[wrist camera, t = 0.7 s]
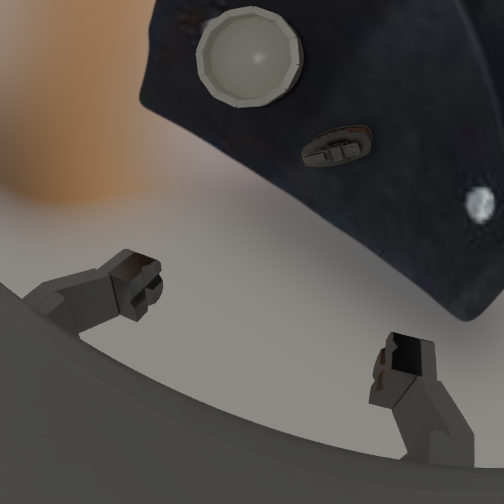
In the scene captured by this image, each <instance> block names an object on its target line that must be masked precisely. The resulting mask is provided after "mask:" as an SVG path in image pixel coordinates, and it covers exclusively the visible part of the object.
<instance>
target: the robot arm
mask: <svg viewBox="0 0 504 504" xmlns="http://www.w3.org/2000/svg"><path fill="white" fill-rule="evenodd" d="M160 272H161V263H160V262H159V261H158V260H156V259H153V258H150V257H148V256H145V255H142V254H139V253H136V252H134V251H131V250H129V249H123V250H122V251H121V252H119V253H118V254H117V255H115V256H114V257H113V258H112V259H110V260H109V261H108V262H106V263H105V264H104V265H103V266H101V267H100V268H99V269H91V270H87V271H83V272H80V273H76V274H72V275H68V276H65V277H61V278H57V279H54V280H50V281H47V282H43V283H42V284H40V285H39V286H37V287H36V288H35V289H34V290H32V291H31V292H30V293H29V294H28V295H26V296H25V297H24V298H23V299H21V298H20V297H18V296H17V295H16V294H14V293H13V292H12V291H10V290H9V289H8V288H7V287H5V286H4V285H3V284H2V283H0V504H504V468H474V434H473V432H472V430H471V429H470V427H469V425H468V423H467V422H466V420H465V418H464V417H463V415H462V414H461V412H460V410H459V409H458V407H457V406H456V404H455V403H454V401H453V399H452V398H451V396H450V395H449V394H448V392H447V390H446V389H445V387H444V386H443V384H442V383H441V381H437V373H436V357H435V345H434V342H432V341H428V340H424V339H418V338H414V337H410V336H406V335H402V334H398V333H395V332H391V333H390V334H389V336H388V338H387V340H386V347H385V348H383V349H381V351H380V353H379V355H378V357H377V360H376V363H375V366H374V370H373V378H374V380H375V381H374V383H373V384H372V386H371V390H370V397H369V403H370V404H373V405H377V406H381V407H385V408H389V409H392V413H393V415H394V418H395V420H396V422H397V426H398V428H399V431H400V433H401V436H402V439H403V441H404V443H405V446H406V449H407V452H408V453H407V454H406V455H405V456H403V457H402V458H401V459H400V460H397V459H392V458H386V457H380V456H375V455H370V454H365V453H360V452H355V451H351V450H346V449H342V448H338V447H334V446H330V445H326V444H323V443H319V442H315V441H311V440H308V439H304V438H301V437H297V436H294V435H291V434H287V433H284V432H281V431H278V430H275V429H272V428H269V427H266V426H263V425H260V424H257V423H254V422H252V421H249V420H246V419H243V418H241V417H238V416H235V415H232V414H230V413H227V412H225V411H222V410H220V409H217V408H215V407H212V406H210V405H208V404H205V403H203V402H200V401H198V400H196V399H193V398H191V397H189V396H187V395H185V394H182V393H180V392H178V391H176V390H174V389H171V388H169V387H167V386H165V385H163V384H161V383H159V382H157V381H155V380H153V379H151V378H149V377H147V376H145V375H143V374H141V373H139V372H137V371H135V370H133V369H131V368H130V367H128V366H126V365H124V364H122V363H120V362H118V361H117V360H115V359H113V358H111V357H110V356H108V355H106V354H104V353H103V352H101V351H99V350H97V349H96V348H94V347H92V346H91V345H89V344H87V343H85V342H84V341H82V340H81V339H80V337H79V335H78V333H80V332H83V331H85V330H87V329H90V328H92V327H94V326H97V325H99V324H101V323H103V322H106V321H108V320H110V319H112V318H115V317H117V316H119V314H120V315H122V316H125V317H127V318H129V319H131V320H133V321H136V322H138V321H139V320H140V319H141V318H142V316H143V315H144V314H145V313H146V312H147V311H148V306H149V305H152V304H155V303H156V301H157V300H158V299H159V298H160V296H161V293H162V289H163V280H162V279H161V277H160V275H159V273H160Z"/></svg>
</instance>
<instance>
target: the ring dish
mask: <svg viewBox="0 0 504 504" xmlns="http://www.w3.org/2000/svg"><path fill="white" fill-rule="evenodd" d="M206 28H207V29H205V30H204V33H203V35H202V37H201V40H200V42H199V45H198V47H197V50H196V51H198V52H196V58H197V67H198V76H200V75H201V76H200V77H199V78H200V79H201V80H202V82H203V83H204V85H205V86H206V87H207V89H208V90H209V92H210V93H211V95H212V96H214V97H215V98H217V99H219V100H221V101H223V102H225V103H227V104H230V105H232V106H234V107H237V108H240V107H254V106H265V105H268V104H270V103H272V102H273V101H276V100H278V99H279V98H281V97H283V96H284V95H285V94H287V93H288V92H289V91H290V90H291V89H292V88H293V86H294V85H295V84H296V82H297V81H298V79H299V77H300V74H301V72H302V68H303V63H304V51H303V46H302V43H301V40H300V37H299V36H298V34H297V33H296V31H295V30H294V28H293V27H292V26H291V25H290V24H289V23H288V22H287V21H286V20H285V19H284V18H283V17H281V16H280V15H278V14H275V13H273V12H270V11H267V10H264V9H261V8H258V7H255V6H254V7H253V6H249V7H244V8H238V9H233V10H228V11H227V12H226V11H225V12H224V13H223V14H222V15H220V16H219V17H218V18H217V19H215V20H214V21H213V22H212V23H211V24H209V25H208V26H207V27H206Z"/></svg>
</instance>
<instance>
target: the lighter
mask: <svg viewBox="0 0 504 504" xmlns="http://www.w3.org/2000/svg"><path fill="white" fill-rule="evenodd" d="M371 141H372V132H371V130H370V129H369V128H368V127H367V126H365V125H349V126H343V127H338V128H335V129H332V130H329V131H326V132H324V133H322V134H320V135H318V136H317V137H316V138H315V139H314V140H313V142H312V143H310V144H308V145H306V146H305V147H304V148H303V150H302V154H301V155H302V159H303V161H304V163H305V164H306V165H307V166H310V167H327V166H333V165H340V164H344V163H347V162H350V161H354V160H356V159H358V158H361V157H363V156H366V155H367V154H368V153H369V152H370V150H371Z"/></svg>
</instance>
